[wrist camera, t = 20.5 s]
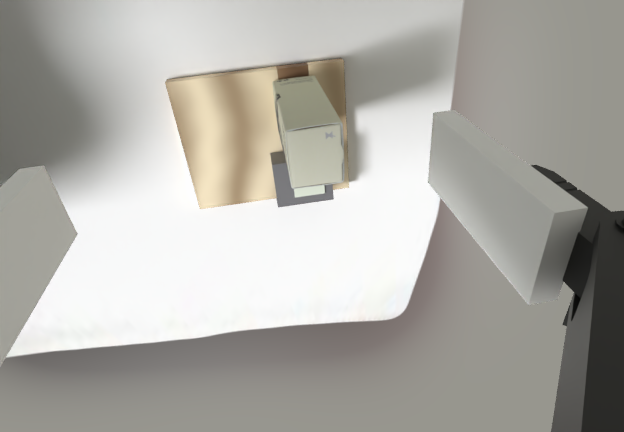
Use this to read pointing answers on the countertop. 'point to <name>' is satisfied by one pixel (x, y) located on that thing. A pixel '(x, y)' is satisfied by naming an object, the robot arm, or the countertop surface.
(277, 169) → the gray block
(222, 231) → the countertop surface
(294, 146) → the box
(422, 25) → the countertop surface
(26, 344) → the countertop surface
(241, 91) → the board
